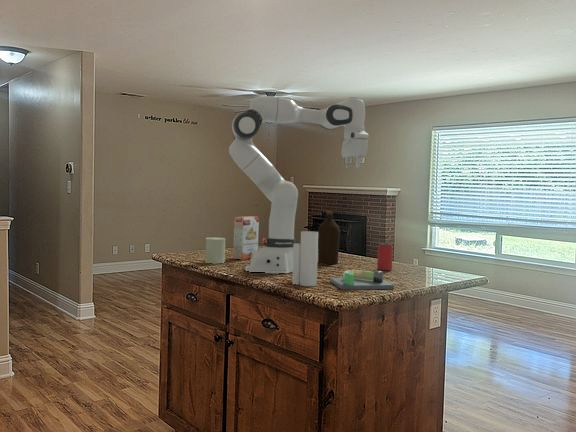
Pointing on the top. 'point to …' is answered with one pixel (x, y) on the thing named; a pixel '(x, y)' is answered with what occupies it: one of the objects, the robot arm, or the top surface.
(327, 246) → the olive oil
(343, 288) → the gauge board
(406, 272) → the top surface
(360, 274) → the spice jar
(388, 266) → the beer can
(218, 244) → the can
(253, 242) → the cracker box
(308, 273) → the candle
